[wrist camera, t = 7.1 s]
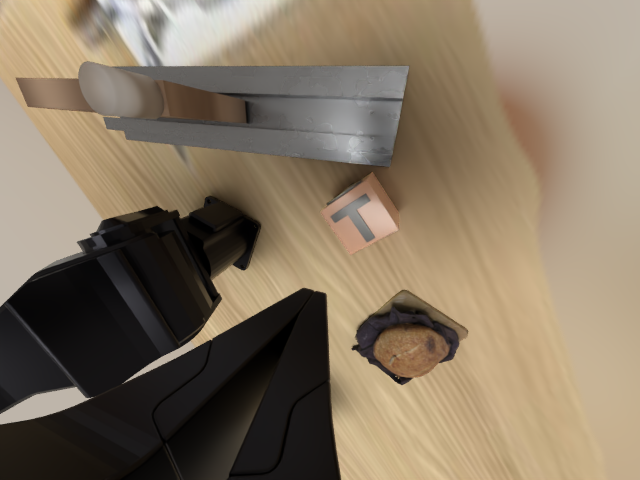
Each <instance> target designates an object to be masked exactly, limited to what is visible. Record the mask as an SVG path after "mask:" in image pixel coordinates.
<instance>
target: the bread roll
mask: <svg viewBox="0 0 640 480" xmlns="http://www.w3.org/2000/svg"><path fill="white" fill-rule="evenodd" d="M467 334H468V330H467V329H466V328H465V327H463V326H462V325H459V324H458V323H456V322H455V321H454V320H452V319H450V318H449V317H447V316H446V315H444V314H443V313H442V312H440V311H438V310H437V309H435V308H434V307H432V306H431V305H429V304H428V303H426V302H425V301H423V300H421V299H420V298H418V297H417V296H415V295H414V294H412V293H411V292H409V291H407V290H402V291H400V292H399V293H398V294H396V295H395V296H394V297H392V298H391V299H390V300H389V301H388V302H387V303H386V304H384V305H383V306H382V307H381V308H380V309H379V310H378V311H377V312H376V313H375V314H374V315H372V316H371V317H370V318H368V320H367V321H365V323H364V324H363V325H362V326H361V327H360V328H359V329H358V330H357V334H356V336H355V338H356V340H357V342H358V345H357V346H353V348H352V350H356V351H357V352H359V353H360V355H361V356H363V357H366V358H367V359H368V361H369V363H370V364H373V365H376V366H377V367H379V368H380V369H381V370H382V371H383V372H385V373H386V374H387V375H389V376H390V377H391V378H392V379H393V380H394V381H395V382H397V383H398V384H401V385H403V384H405V383H407V382H409V381H410V380H411V379H412V378H414V377H420V376H423V375H425V374H427V373H429V372H430V371H431V370H432V369H433V368H434V367H435V366H436V365H437V364H438V363H442V362H445V361H449V360H452V359H453V357H454V356H455V355H454V354H455V353H456V349H457V348H458V347H459V342H460V341H461V340H463V339H464V338H466V337H467ZM395 376H397V377H395ZM398 378H399V379H398Z"/></svg>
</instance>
